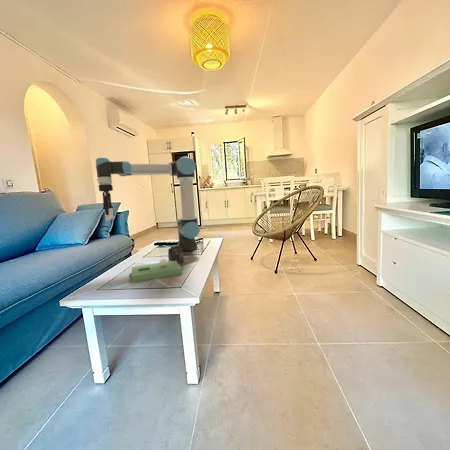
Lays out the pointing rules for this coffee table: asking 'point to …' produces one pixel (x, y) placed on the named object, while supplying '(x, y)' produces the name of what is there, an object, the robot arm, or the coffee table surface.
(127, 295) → the coffee table surface
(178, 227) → the robot arm
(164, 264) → the golf ball
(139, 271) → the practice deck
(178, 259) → the camera
